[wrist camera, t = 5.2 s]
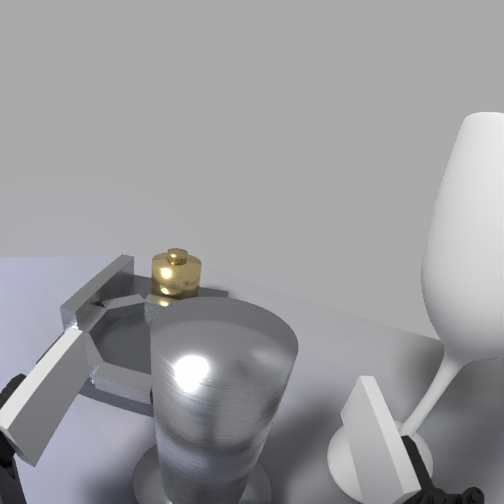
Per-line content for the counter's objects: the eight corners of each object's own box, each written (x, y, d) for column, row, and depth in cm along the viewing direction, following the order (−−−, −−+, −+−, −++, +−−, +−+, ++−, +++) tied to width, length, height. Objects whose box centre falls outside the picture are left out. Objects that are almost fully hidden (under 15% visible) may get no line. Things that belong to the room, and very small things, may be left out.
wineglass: (305, 434, 17) (409, 99, 10) (392, 406, 20) (487, 153, 13) (362, 529, 9) (584, 115, 3) (449, 473, 12) (594, 185, 6)
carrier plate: (231, 304, 33) (240, 251, 31) (212, 430, 16) (222, 360, 14) (123, 283, 33) (123, 232, 31) (40, 377, 16) (19, 305, 14)
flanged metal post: (262, 458, 15) (321, 293, 11) (265, 552, 8) (387, 438, 4) (151, 441, 14) (144, 264, 11) (126, 532, 8) (41, 384, 4)
